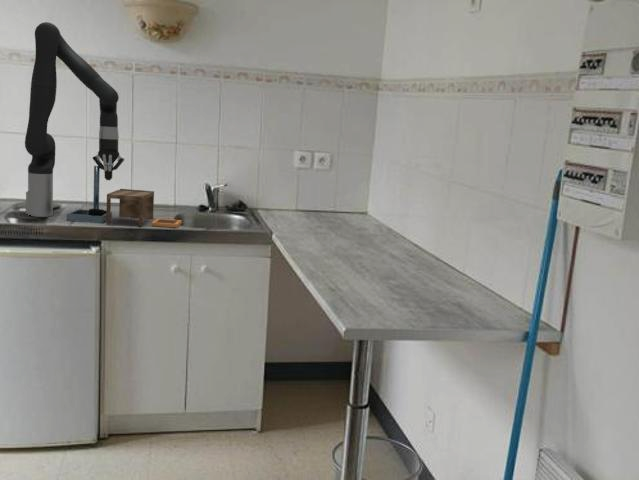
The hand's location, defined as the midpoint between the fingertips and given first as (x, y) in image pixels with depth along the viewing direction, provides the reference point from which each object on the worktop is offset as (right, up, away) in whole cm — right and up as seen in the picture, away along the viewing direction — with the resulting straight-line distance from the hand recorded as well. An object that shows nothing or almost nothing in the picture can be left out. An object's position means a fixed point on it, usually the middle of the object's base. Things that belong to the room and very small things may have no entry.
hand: (108, 179), depth 277 cm
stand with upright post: (-6, -16, -4) cm, 17 cm away
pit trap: (+25, -19, -4) cm, 32 cm away
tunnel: (+10, -17, -4) cm, 20 cm away
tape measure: (-1, -16, -5) cm, 17 cm away
